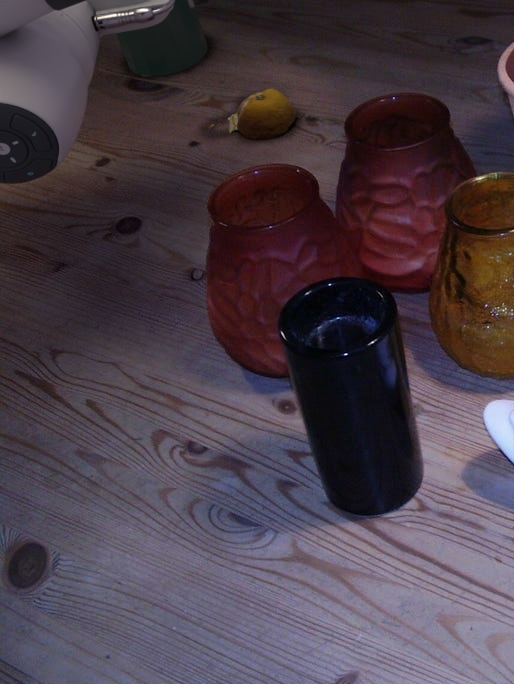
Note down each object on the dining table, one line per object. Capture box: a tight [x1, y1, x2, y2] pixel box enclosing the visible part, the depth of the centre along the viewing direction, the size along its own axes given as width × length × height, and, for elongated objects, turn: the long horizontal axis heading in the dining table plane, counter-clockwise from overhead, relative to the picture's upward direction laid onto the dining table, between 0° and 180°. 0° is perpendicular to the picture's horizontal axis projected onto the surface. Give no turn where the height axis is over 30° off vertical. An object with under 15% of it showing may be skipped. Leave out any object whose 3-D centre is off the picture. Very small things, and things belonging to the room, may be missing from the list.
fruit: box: [207, 87, 297, 141], centre depth 99 cm, size 8×8×4 cm
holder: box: [115, 0, 209, 78], centre depth 108 cm, size 9×9×10 cm
